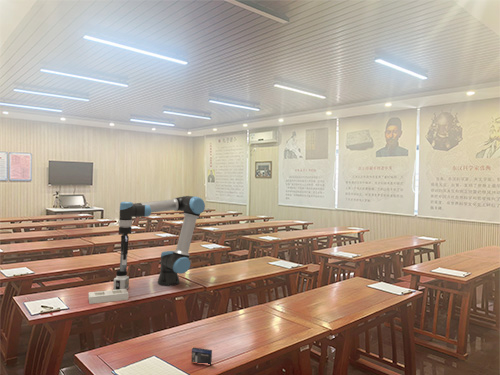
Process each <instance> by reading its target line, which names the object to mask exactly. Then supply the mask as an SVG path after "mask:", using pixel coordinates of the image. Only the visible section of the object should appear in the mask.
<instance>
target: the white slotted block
mask: <svg viewBox="0 0 500 375" xmlns="http://www.w3.org/2000/svg"><path fill="white" fill-rule="evenodd" d="M87 299H88V304H89V305H93V304H100V303H102V304H103V303H110V302H121V301H127V300H129V292H128V290H127V289H118V290H113V289H110V290H99V291H98V290H97V291H89V292H88V298H87Z"/></svg>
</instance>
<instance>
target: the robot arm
mask: <svg viewBox="0 0 500 375" xmlns="http://www.w3.org/2000/svg"><path fill="white" fill-rule="evenodd" d="M205 208H206V204H205V201H204V200H203V198H201V197H199V196H195V195H194V196H190V195H184V196H180V197H173V198H172V199H166V200H155V201H145V202H137V203H136V202H135V203H133V202H132V201H121V202H120V204H119V218H118V220H119V221H117V223H118V226H119V227H118V233H119V234H121V235H120V252H121V251H123V254H121V253H120V256H121V255H122V265H126V263H127V264H128V250H129V240H130V239H129V238H130V237H129V235H128V234H131V233H132V225H133V218H135V217H136V218H147V217H150V216H151V214H153V213H159V212H167V211H173V212H182V213H183V216H184V218H183V222H182V225H181V230H180V233H179V237H178V241H177V245H176V248H175V250H166V251H162V252H161V254H160V274H159V276H158V278H157V284H158V285H159V286H165V287H169V286H170V285H172V286H176V285H178V284H180V278H179V275H178V274H180V275H182V274H185V273H186V272H188V271H189V270H190V268H191V260H190V256H191V254H190V253H189V250H190V247H191V243H192V239H193V235H194V231H195V227H196V224H197V220H198V219H199V218H200V216H201V214H202V213H203V212H204V211H205V210H206V209H205ZM175 284H176V285H175Z"/></svg>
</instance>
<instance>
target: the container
mask: <svg viewBox="0 0 500 375" xmlns="http://www.w3.org/2000/svg"><path fill="white" fill-rule="evenodd" d="M127 271H128V270H127ZM127 271H120V268H119V269H117V270H116V275H115V277H114V278H113V285H112V286H113V287H112V288H113V289H112V290H118V289H126V290H127V289H128V288H129V286H130V281H129V280H130V276H129V275H128V276H127V274H128V272H127Z"/></svg>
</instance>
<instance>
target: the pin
mask: <svg viewBox="0 0 500 375" xmlns="http://www.w3.org/2000/svg"><path fill="white" fill-rule="evenodd" d="M121 254H123V251H121V250H120V257H119V258H120V260H119V269H120V271H128V270H127V268H128V267H127V265H128V262H127V263H126V265H122V255H121Z"/></svg>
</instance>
